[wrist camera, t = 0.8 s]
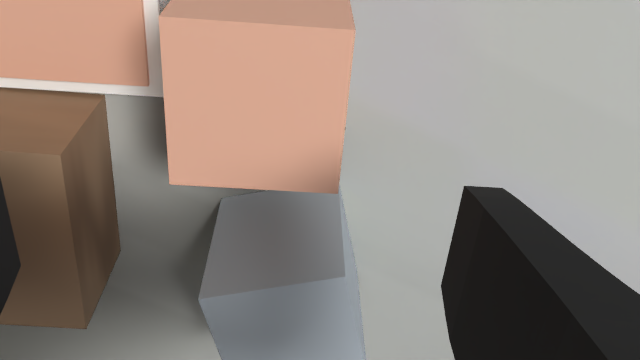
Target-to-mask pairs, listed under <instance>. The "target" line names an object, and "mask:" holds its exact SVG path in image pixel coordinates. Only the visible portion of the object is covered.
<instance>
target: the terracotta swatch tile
mask: <svg viewBox="0 0 640 360" xmlns="http://www.w3.org/2000/svg"><path fill="white" fill-rule="evenodd" d="M159 15H160V2H159V0H0V87H7V88H23V89H39V90H55V91H71V92H88V93H104V94H120V95H136V96H152V97H164V94H163V78H162V63H161V48H160V32H159V17H158V16H159Z"/></svg>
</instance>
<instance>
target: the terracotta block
mask: <svg viewBox="0 0 640 360" xmlns="http://www.w3.org/2000/svg"><path fill="white" fill-rule="evenodd" d="M158 17H159V32H160V48H161V63H162V78H163V94H164V109H165V124H166V140H167V155H168V170H169V184H172V185H189V186H207V187H224V188H242V189H260V190H277V191H295V192H312V193H330V194H338V189H339V180H340V171H341V161H342V152H343V143H344V133H345V124H346V115H347V105H348V96H349V86H350V77H351V68H352V58H353V49H354V40H355V25H354V20H353V15H352V10H351V5H350V0H170V2H169V3H168V4H167V6H166V7H165V8H164V10H163V11H162V12H161V14H160V15H159V16H158Z"/></svg>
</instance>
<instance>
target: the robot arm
mask: <svg viewBox="0 0 640 360" xmlns="http://www.w3.org/2000/svg"><path fill="white" fill-rule="evenodd" d="M20 267H21V263H20V259H19V254H18V250H17V246H16V242H15V237H14V233H13V229H12V225H11V220H10V216H9V212H8V208H7V203H6V199H5V195H4V191H3V186H2V182H1V178H0V315H1V312H2V310H3V308H4V306H5V303H6V301H7V299H8V297H9V294H10V292H11V289H12V287H13V284H14V282H15V279H16V277H17V274H18V272H19V269H20ZM441 288H442V295H443V302H444V309H445V316H446V322H447V328H448V333H449V339H450V343H451V347H452V350H453V354H454V357H455V360H640V294H638V293H637V292H635V291H634V290H633V289H631V288H630V287H628V286H627V285H626V284H624V283H623V282H622V281H620V280H619V279H618V278H616V277H615V276H614V275H612V274H611V273H610V272H608V271H607V270H606V269H604V268H603V267H602V266H601V265H599V264H598V263H597V262H595V261H594V260H593V259H592V258H590V257H589V256H588V255H587V254H585V253H584V252H583V251H581V250H580V249H579V248H578V247H576V246H575V245H574V244H573V243H572V242H570V241H569V240H568V239H567V238H565V237H564V236H563V235H562V234H560V233H559V232H558V231H557V230H556V229H554V228H553V227H552V226H551V225H549V224H548V223H547V222H546V221H545V220H543V219H542V218H541V217H540V216H538V215H537V214H536V213H535V212H534V211H532V210H531V209H530V208H529V207H527V206H526V205H525V204H524V203H522V202H521V201H520V200H518V199H517V198H516V197H514V196H513V195H512V194H510V193H509V192H507V191H506V190H505V189H503V188H492V187H474V186H464V189H463V193H462V198H461V202H460V206H459V211H458V215H457V219H456V224H455V228H454V232H453V236H452V241H451V245H450V249H449V254H448V258H447V262H446V267H445V271H444V275H443V279H442V284H441Z"/></svg>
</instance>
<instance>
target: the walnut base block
mask: <svg viewBox="0 0 640 360" xmlns="http://www.w3.org/2000/svg"><path fill="white" fill-rule="evenodd" d="M0 178H1V182H2V186H3V191H4V195H5V199H6V203H7V208H8V212H9V216H10V220H11V225H12V229H13V233H14V237H15V242H16V246H17V250H18V254H19V259H20V263H21V267H20V269H19V272H18V274H17V277H16V279H15V282H14V284H13V287H12V289H11V292H10V294H9V297H8V299H7V301H6V303H5V306H4V308H3V310H2V312H1V315H0V324H5V325H23V326H41V327H59V328H77V329H87V326H88V324H89V322H90V319H91V317H92V315H93V313H94V310H95V308H96V306H97V304H98V301H99V299H100V297H101V294H102V292H103V290H104V288H105V285H106V283H107V281H108V278H109V276H110V274H111V272H112V269H113V267H114V265H115V262H116V260H117V258H118V256H119V253H120V251H121V250H120V240H119V230H118V220H117V210H116V200H115V191H114V181H113V171H112V161H111V151H110V141H109V132H108V122H107V112H106V102H105V95H101V94H88V93H75V92H62V91H49V90H36V89H23V88H7V87H0Z"/></svg>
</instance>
